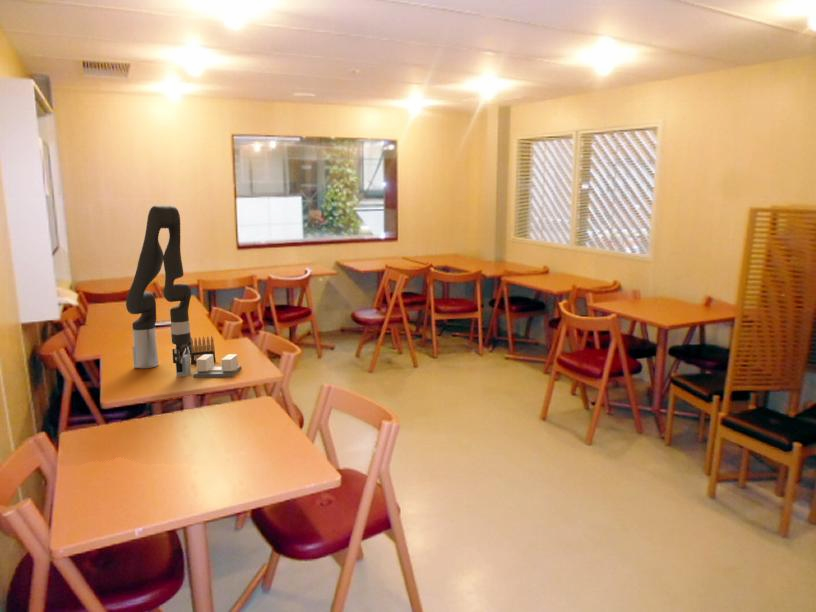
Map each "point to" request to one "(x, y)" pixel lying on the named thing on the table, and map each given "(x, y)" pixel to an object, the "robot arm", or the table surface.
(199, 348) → the ammunition clip
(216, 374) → the mounting plate
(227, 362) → the mounted modules
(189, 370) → the module block
